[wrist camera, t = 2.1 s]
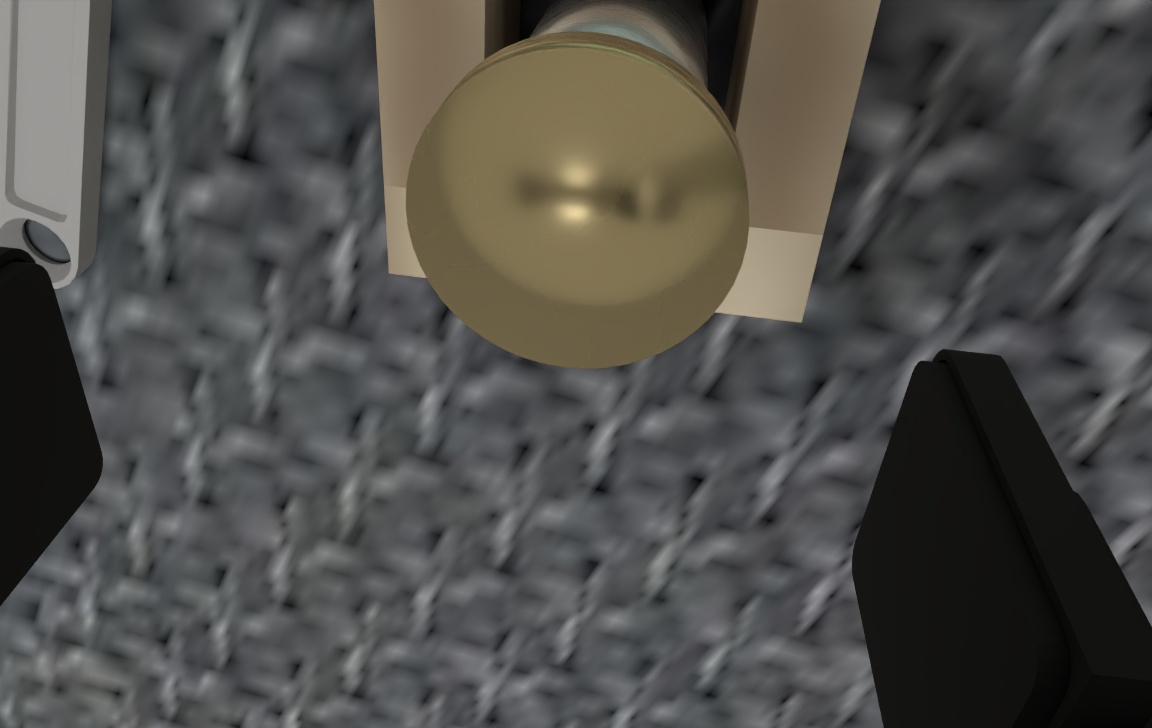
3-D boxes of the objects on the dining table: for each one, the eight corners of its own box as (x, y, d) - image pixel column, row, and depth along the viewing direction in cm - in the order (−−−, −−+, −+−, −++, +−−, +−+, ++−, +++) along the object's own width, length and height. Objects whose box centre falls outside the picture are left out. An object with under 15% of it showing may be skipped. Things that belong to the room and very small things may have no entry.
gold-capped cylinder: (749, -69, 21) (781, 70, 12) (714, 145, 24) (719, 386, 15) (528, -90, 21) (398, 31, 12) (520, 125, 24) (411, 347, 15)
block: (880, -180, 20) (920, -161, 16) (787, 238, 25) (801, 322, 22) (425, -219, 20) (362, -210, 17) (434, 197, 26) (388, 273, 22)
